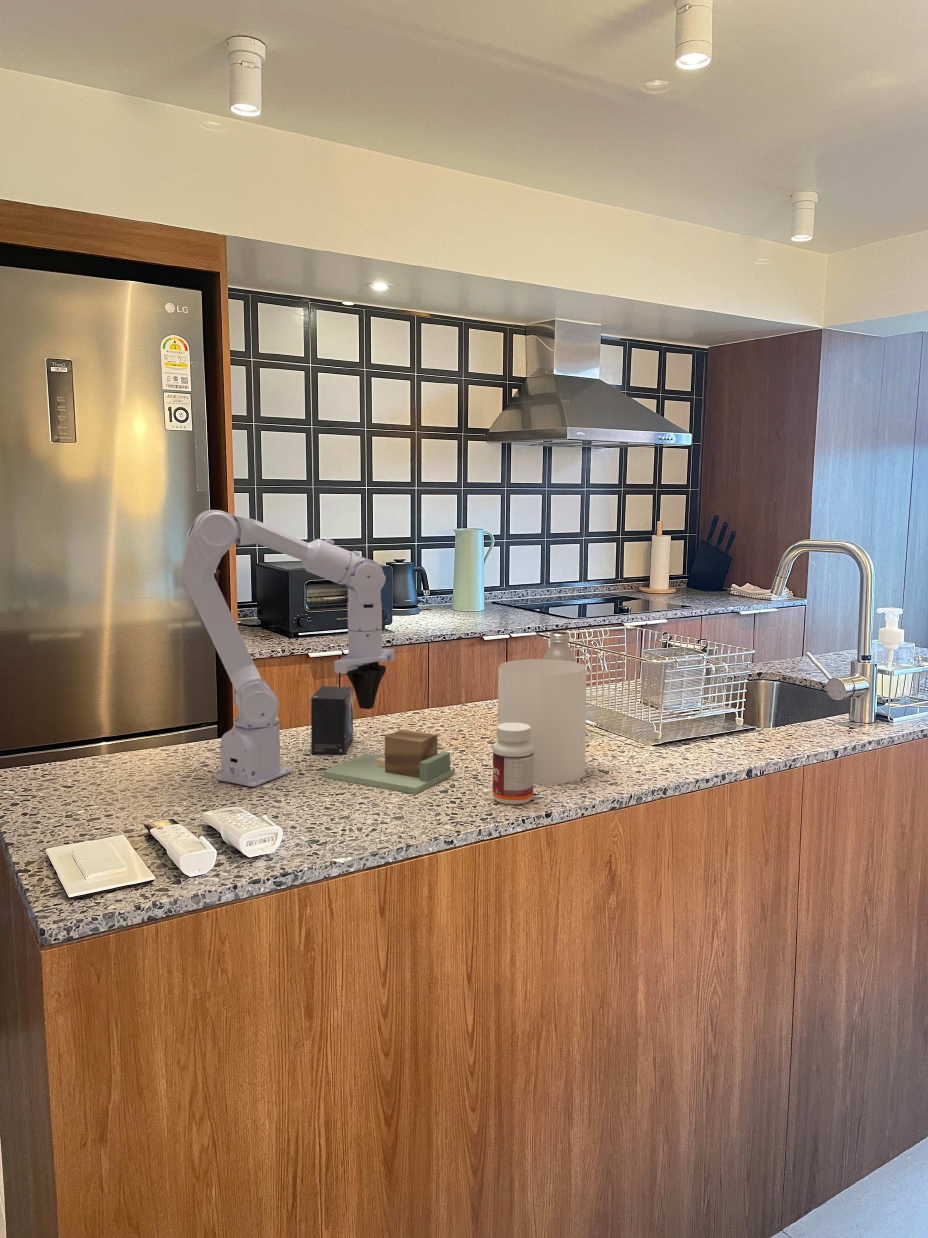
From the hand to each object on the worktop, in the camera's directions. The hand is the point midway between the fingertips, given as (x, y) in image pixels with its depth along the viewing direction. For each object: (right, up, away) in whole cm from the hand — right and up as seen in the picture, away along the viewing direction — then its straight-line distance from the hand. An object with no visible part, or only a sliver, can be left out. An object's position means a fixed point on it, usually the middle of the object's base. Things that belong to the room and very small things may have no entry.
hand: (366, 708), depth 151 cm
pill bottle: (+24, -12, -17) cm, 32 cm away
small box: (-8, -9, +12) cm, 17 cm away
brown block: (+8, -10, -6) cm, 14 cm away
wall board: (+4, -11, -5) cm, 13 cm away
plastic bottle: (+35, -7, +20) cm, 41 cm away
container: (+30, -11, -3) cm, 32 cm away
